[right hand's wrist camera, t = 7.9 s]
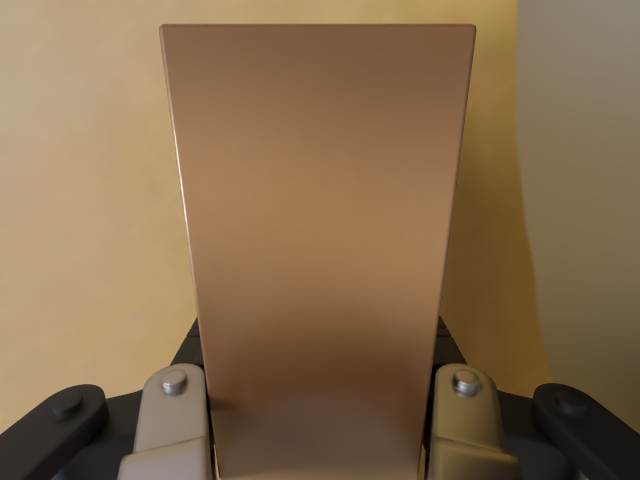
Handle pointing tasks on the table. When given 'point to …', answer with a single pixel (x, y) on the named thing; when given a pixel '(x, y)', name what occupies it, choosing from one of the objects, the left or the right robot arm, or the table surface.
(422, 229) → the bar
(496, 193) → the table surface
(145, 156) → the table surface
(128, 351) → the table surface
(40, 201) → the table surface
